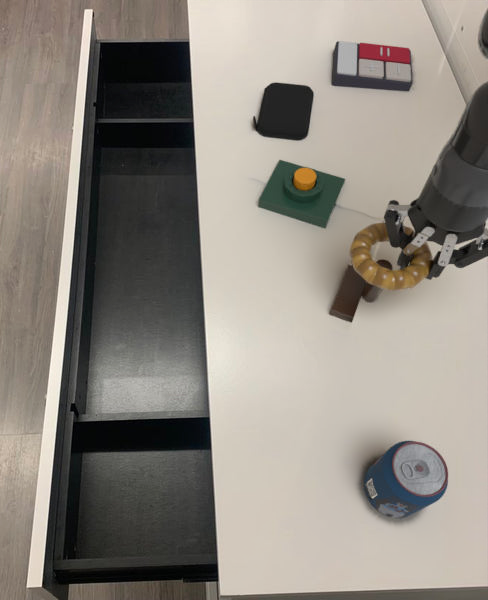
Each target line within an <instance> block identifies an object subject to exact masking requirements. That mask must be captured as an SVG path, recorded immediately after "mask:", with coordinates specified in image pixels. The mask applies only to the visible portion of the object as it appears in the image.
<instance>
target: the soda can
mask: <svg viewBox="0 0 488 600" xmlns="http://www.w3.org/2000/svg"><path fill="white" fill-rule="evenodd" d="M448 484H449V469H448V465H447V463H446V460H445V458H444V457H443V455H442V454H441V453H440V452H439V451H438V450H437V449H435V448H434V447H432V446H431V445H429V444H427V443H425V442H422V441H414V440H404V441H399V442H397V443H395V444H393V445H392V446H391V447H389V448H388V449H387V450H386V451H385V452H384V453H382V455H381V456H380V457H379V458H378V459H377V460H375V462H374V463H373V464H372V465H370V466H369V468H368V469H367V471H366V472H365V475H364V479H363V490H364V493H365V497H366V498H367V500H368V502H369V504H370V505H371V506H372V507H373V508H374V509H375V510H376V511H377V512H378V513H380V514H381V515H383V516H386V517H389V518H392V519H404V518H408V517H410V516H412V515H413V514H416V513H418V512H419V511H421V510H424V509H426V508H427V507H429V506H431V505H432V504H435V503H436V502H438V501H439V500H441V498H443V496H444V495H445V493H446V492H447V488H448V486H449V485H448Z"/></svg>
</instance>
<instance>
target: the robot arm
mask: <svg viewBox="0 0 488 600" xmlns="http://www.w3.org/2000/svg"><path fill="white" fill-rule="evenodd" d="M477 44H478V50H479V52H480V54H481V56H482V57H483V58H484V59H485V60H486V61H488V8H487V9H486V10H485V12H484V14H483V17H482V19H481V21H480V24H479V29H478V33H477ZM385 209H386V210H385V213H384V215H383V220H384V223H385V224H386V229H387V233H388V237H389V241H390V242H389V241H388V242H389V245H390V246H391V247H392V248H394V249H398V248H400V249H401V250H400V252H399V254H398V257H397V260H396V266H398V267H399V269H398V270H401V269H404V268H406V267H407V266H408V265H409V264H410V261H411V259H412V257H413V255H414V252H415V250H416V249H417V248H420V247H421V246H422V245H423V243H424V242H425V241H426V242H431V243H435V244H437V245H439V246H441V249H440V250H438V251H437V252H436V254H435V255H434V257H433V261H432V264H431V268H430V271H429V274H428V276H427V277H426V278H425V280H428V281H429V280H430V281H431V280H433V278H435V279H437V278H439V277H440V276H441V274H442V273H443V271H444V270H445V268H446V267H447V266H449V265H454V266H455V268H458V269H464V268H466V267H468V266H470V265H473V264H475V263H476V262H479V261H480V260H484V259H485V258H487V257H488V228H487V227H486V226H487V221H488V80H487V81H485V82H484V83H482V84H481V85H479V86H478V87H477V88H476V89H475V91H474V92H473V93H472V94H471V96H470V98H469V100H468V101H467V104H466V105H465V108H464V110H463V112H462V114H461V116H460V118H459V120H458V122H457V125H456V126H455V128H454V130H453V132H452V134H451V136H450V137H449V138H448V140H447V141H446V143H445V144H444V146H443V147H442V149H441V151H440V152H439V154H438V156H437V159H436V161H435V163H434V165H433V166H432V169H431V171H430V173H429V175H428V177H427V179H426V181H425V184H424V186H423V188H422V190H421V192H420V193H419V196H418V197H417V198H416V199H414V200H412V201H411V202H410V204H400V201H398V200H395V199H390V200H389V201H388V204H387V207H386V208H385ZM406 217H408V219H409V222H410V223H411V225H412V227H413V228H412V229H413V231H412V232H411V233H410V234H409V235H407V234H406V233H404V232H405V230H404V226H405V225H404V220H405V218H406ZM469 241H471V242H469ZM466 242H468V243H466ZM463 243H466V244H465V245H462V246H460V247H459V248H458V249H455V246H456V245H460V244H463Z"/></svg>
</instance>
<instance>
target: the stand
mask: <svg viewBox="0 0 488 600" xmlns="http://www.w3.org/2000/svg"><path fill="white" fill-rule="evenodd" d="M375 262H376V263H377V264H379V265H380V266H381V267H384V268H387V269H390V270H394V268H393V264H392V263H391V261H389V260H388V259H383V258H382V259H378V260H376V261H375ZM382 290H384V289H383V288H380V287H377V286H374V285H371V284H369V283H368V282H367V281H366V280H364V279H363V278H362V277H361V276H360V275H359V274H358V273H357V272H356V271H355V270H354V268H353V264H347V267H346V269H345V271H344V275H343V277H342V280H341V283H340V284H339V287H338V290H337V293H336V296H335V298H334V301H333V304H332V306H331V309H330V311H329V313H328V315H329V316H332V317H335V318H338V319H341V320H343V321H345V322H349V323H351V324H352V323H353V320H354V318H355V315H356V312H357V310H358V307H359V305H360V302H361V298H362V299H363V301H365V302H366V303H375V302H376V301H377V300H378V298H379V297H380V294H381V293H382Z"/></svg>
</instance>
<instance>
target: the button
mask: <svg viewBox="0 0 488 600" xmlns="http://www.w3.org/2000/svg"><path fill="white" fill-rule="evenodd" d="M309 168H310V167H308V168H300V169H298V170H297V171H296V172H295V174H294V180H293V184H294V186H295V187H296V188H297V189H299V190H303V191H307V190H310V189H312V188H313V187H314V185H315V181H316V173H315V172H314V171H313V170H312V169H313V168H311V169H309Z"/></svg>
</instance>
